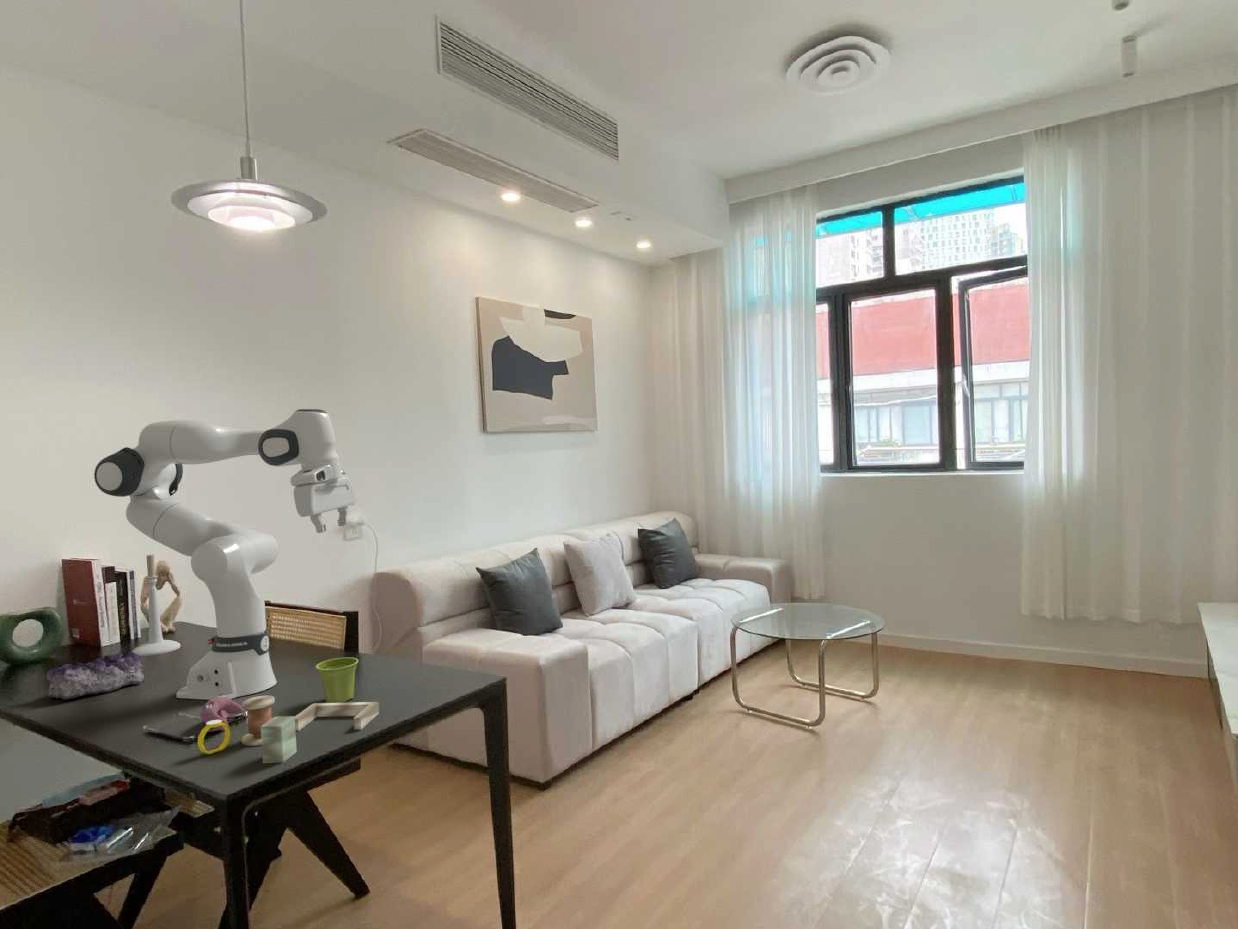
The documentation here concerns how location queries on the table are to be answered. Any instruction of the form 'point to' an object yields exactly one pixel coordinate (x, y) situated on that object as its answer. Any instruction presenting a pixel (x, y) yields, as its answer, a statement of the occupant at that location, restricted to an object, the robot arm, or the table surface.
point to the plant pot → (338, 678)
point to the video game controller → (220, 710)
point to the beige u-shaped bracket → (339, 713)
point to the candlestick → (154, 620)
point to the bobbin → (257, 718)
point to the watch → (201, 736)
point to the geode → (95, 676)
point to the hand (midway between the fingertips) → (332, 529)
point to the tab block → (278, 739)
